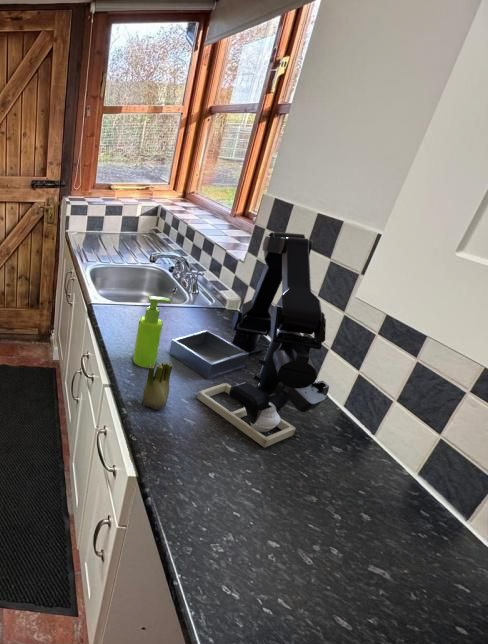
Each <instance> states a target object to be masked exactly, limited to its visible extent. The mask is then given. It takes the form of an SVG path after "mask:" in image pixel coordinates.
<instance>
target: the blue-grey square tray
mask: <svg viewBox="0 0 488 644" xmlns="http://www.w3.org/2000/svg"><path fill="white" fill-rule="evenodd" d="M230 342H231V341H228V340H227V339H224V338H222V337H221V336H220V335H218V334H215V333H214V332H212V331H210V330H209V329H205V330H202V331H198V332H194V333H191V334H188V335H183V336H181V337H176V338H172V339H171V342H170V345H169V346H170V347H169V352H168V353H169V354H170V355H171V356H172V357H174V358H176V359H177V360H178V361H180V362H182V363H183V364H185V365H186V366H187V367H189V368H191V369H192V370H193V371H195V372H196V373H198V374H200V375H201V376H202V377H204V378H206V379H207V380H210V379H213V378H216V377H219V376H222V375H224V374H225V375H226V374H228V373H230V372H233V371H237V370H240V369H243V368H245V367H246V364H247V361H248V358H249V353H248V352H246V351H245V350H243V349H241V348H239V347H237V346H235V345H234V344H232V343H230Z"/></svg>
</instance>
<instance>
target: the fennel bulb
mask: <svg viewBox="0 0 488 644" xmlns="http://www.w3.org/2000/svg"><path fill="white" fill-rule="evenodd" d="M173 367H174V364H173V363H171V362H164V361H162V362H161V364H158V365H156V367H155V365H154V366H153V365H150V366H149V368H148V370H147V371H148V372H147V378H146V381H145V385H144V389H143V393H142V394H143V395H142V401H143V404H144V405H145V406H146V407H148V408H151V409H153V410H157V411H158V410H163V409H164V408H166V406H167V402H168V399H169V395H170V379H171V373H172V371H173ZM155 368H156V369H155Z"/></svg>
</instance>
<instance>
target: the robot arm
mask: <svg viewBox="0 0 488 644" xmlns="http://www.w3.org/2000/svg"><path fill="white" fill-rule="evenodd" d="M313 243H314V239H308V238H306V236H305V234H304V233H291V232H281V231H272V232H269V233H268V235H266V236H265V237H264V239H263V242H262V251H263V258H264V262H265V265H264V267H263V270H262V272H261V275H260V278H259V280H258V283H257V284H256V285H257V286H256V287H255V290H254V293H253V295H252V297H251V299H250V300H248V301H246V302H244V303H242V304H241V307H240V309H239V310H237V311H236V312H235V314H234V315H233V317H232V321H231V326H232V331H234V332H235V333H234V335H233V339H232V341H229V342H230V343H232V344H234V345H235V346H237V347H239V348H241V349H243V350H245V351H246V352H248V353H249V355H253V354H256V353H259V352H262V348H261V347H259V346H258V344H259V340H260V338H261V336H264V337H268V335H269V334H270V340H269V341H270V342H269V344H268V347H267V351H266V353H265V356H264V357H261V358H259V359H258V364H260V365H261V369H260V372H259V373H257V374H254V376H253V380H254V381H256V382H258V383H257V386H258V387H256V386H255V385H253V384H251V383H249V381H244V382H240V383H238V384H234V385H231V386H232V387H231V388H230V391H229V394H228V396H229V398H231V399H233V400H234V401H236V402H237V403H238V404H240V405H241V406H243V408H244V407H245V410H246V413H247V415H246V416H247V419H248V421H249V423H250V422H251V423H252V424H255V423H256V421H257V420H258V418H259V416H260V414H261V412H262V411H263V410H266V409H268V408H271V407H272V406H270V405H269V402H270V403H272V404H273V405H274V406H275V407H276V411H277V413H278V414H279V413H280V411H281V410H282V409H283V408H284V407H285V405H286V404H287V403H288V402H290V403H291V404H292V405H293V406H294V407H295V409H296V410H297V411H298V412H300V413H306V412H308V411H310V410H314V409H316V408H317V407H319V405H321V404H322V403H323V402H325V401H327V400H328V397H329V395H328V393H329V389H330V385H329V384H328V383H327V382H326V381H324V380H317V378H318V374H317V370H316V369H315V366H314V364H313V360H312V359H311V357H310V351H311V349H314V350H322V347H323V346H322V344H323V343H324V342H325V341H326V334H327V333H326V332H327V331H326V330H327V329H326V326H327V319H326V318H325V316H326V315H325V313H324V312H323V311H322V305H321V300H320V299H319V298H318V297H317V296H316V295H315V294H314V293H313V292H312V283H311V263H310V255H311V251H312V248H313ZM280 286H281V296H280V298H279V299H278V301H277V303H276V304H275V305H274V306H273V307H271V306H272V303H273V301H274V299H275V297H276V295H277V293H278V291H279V288H280ZM302 334H303V335H302ZM305 335H310V336H305ZM311 335H313V337H311ZM249 355H248V356H249ZM316 380H317V381H316Z"/></svg>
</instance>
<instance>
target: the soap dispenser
mask: <svg viewBox="0 0 488 644" xmlns="http://www.w3.org/2000/svg"><path fill="white" fill-rule="evenodd" d="M148 301H149V302H150V303H149V306H147V307H146V308H145V314H144V315H143V316H141V317H139V318H138V319H139V320H138V327H137V333H136V338H135V339H136V340H135V345H134V351H133V358H132V361H133V363H134V364H135V365H137V366H138V367H141V368H146V369H147V368H148V369H149V366H150V365H153V366H154V367H155V365H156V363H157V356H158V351H159V347H160V346H159V345H160V340H161V334H162V328H163V325H164V323H163V320H161V319H160V318H159V317H160V312H161V310H160V308H159V307H158V303H166V304H172V300H171V299H170V298H169V297H165V296H154V295H153V296H148Z"/></svg>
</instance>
